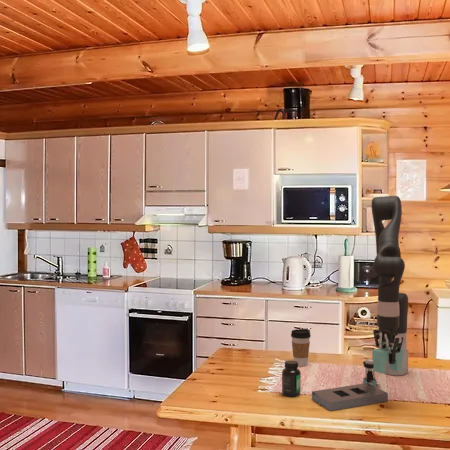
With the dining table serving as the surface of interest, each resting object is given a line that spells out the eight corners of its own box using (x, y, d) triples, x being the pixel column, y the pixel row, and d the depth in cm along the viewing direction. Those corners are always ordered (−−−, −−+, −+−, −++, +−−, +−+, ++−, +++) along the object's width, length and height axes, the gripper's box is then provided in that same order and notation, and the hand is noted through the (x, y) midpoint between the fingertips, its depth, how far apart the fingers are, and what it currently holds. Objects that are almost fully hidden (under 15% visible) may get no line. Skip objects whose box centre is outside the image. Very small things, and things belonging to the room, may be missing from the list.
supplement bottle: (303, 396, 213) (303, 364, 212) (285, 398, 212) (285, 365, 211) (296, 390, 220) (297, 359, 219) (279, 391, 218) (279, 360, 218)
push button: (379, 383, 227) (379, 358, 226) (381, 388, 222) (382, 362, 221) (361, 383, 228) (362, 358, 227) (363, 387, 222) (364, 362, 222)
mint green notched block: (395, 367, 208) (395, 346, 208) (402, 370, 205) (402, 349, 204) (372, 370, 205) (372, 349, 204) (379, 373, 201) (379, 352, 201)
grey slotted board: (367, 390, 219) (367, 382, 219) (387, 401, 208) (387, 393, 208) (311, 399, 210) (312, 391, 210) (330, 411, 199) (330, 402, 199)
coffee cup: (311, 367, 248) (311, 332, 248) (291, 367, 248) (291, 332, 248) (309, 361, 257) (309, 328, 256) (289, 361, 257) (290, 327, 256)
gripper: (410, 316, 198) (409, 366, 199) (383, 308, 212) (383, 355, 213) (392, 318, 196) (392, 369, 197) (366, 310, 209) (366, 357, 210)
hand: (387, 361), depth 205 cm, fingers closed on mint green notched block, 4 cm apart
